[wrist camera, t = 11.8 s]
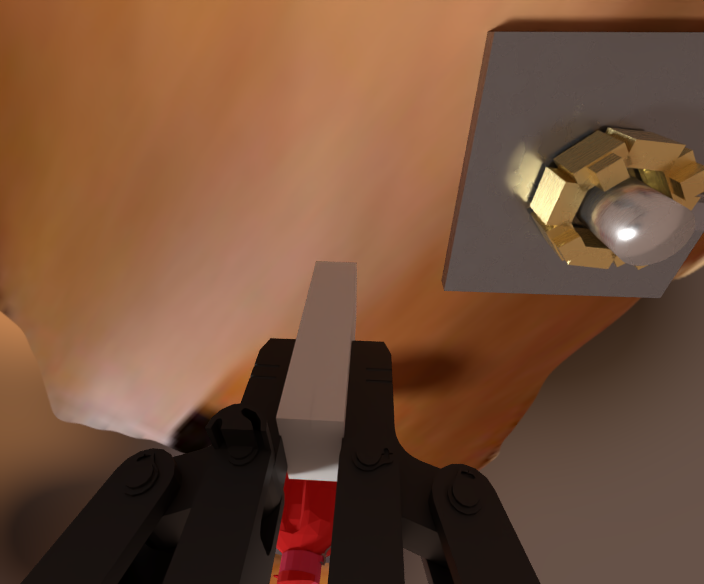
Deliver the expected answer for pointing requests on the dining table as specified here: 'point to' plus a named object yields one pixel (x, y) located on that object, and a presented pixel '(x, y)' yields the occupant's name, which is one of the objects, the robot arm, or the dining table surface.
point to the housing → (558, 136)
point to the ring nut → (605, 172)
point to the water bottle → (305, 530)
